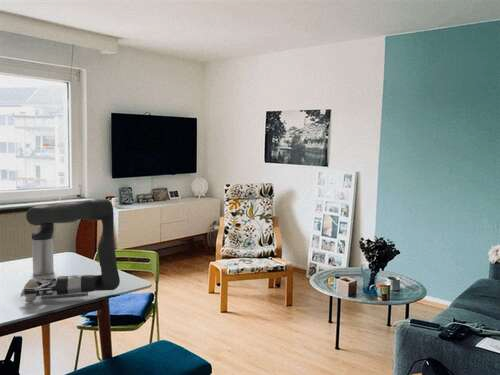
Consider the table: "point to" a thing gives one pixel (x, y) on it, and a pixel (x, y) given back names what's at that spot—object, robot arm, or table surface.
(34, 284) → the arrowhead
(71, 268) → the table surface
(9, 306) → the table surface
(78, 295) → the mat
